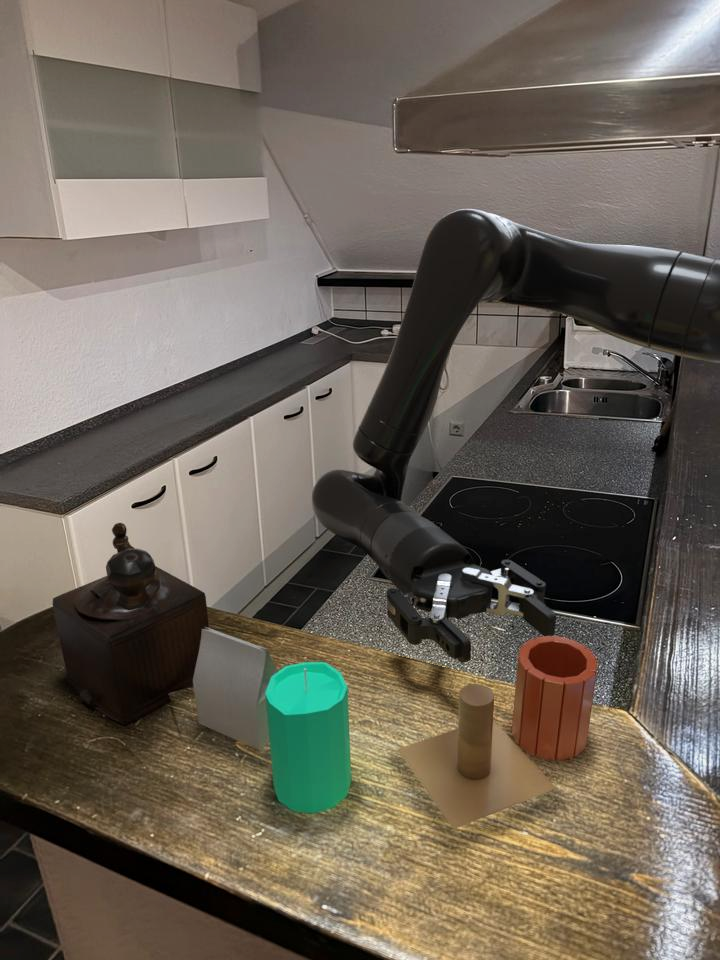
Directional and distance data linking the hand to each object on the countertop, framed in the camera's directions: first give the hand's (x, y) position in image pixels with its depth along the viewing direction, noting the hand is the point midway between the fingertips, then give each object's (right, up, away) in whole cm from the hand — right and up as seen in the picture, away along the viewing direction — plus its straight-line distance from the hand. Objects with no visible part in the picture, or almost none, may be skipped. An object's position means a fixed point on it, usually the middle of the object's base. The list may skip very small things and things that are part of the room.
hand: (510, 640), depth 65 cm
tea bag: (-23, -9, +1) cm, 24 cm away
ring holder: (-4, -10, -4) cm, 12 cm away
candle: (-16, -11, -5) cm, 21 cm away
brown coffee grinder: (-32, -7, +8) cm, 34 cm away
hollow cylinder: (+3, -9, -1) cm, 9 cm away
